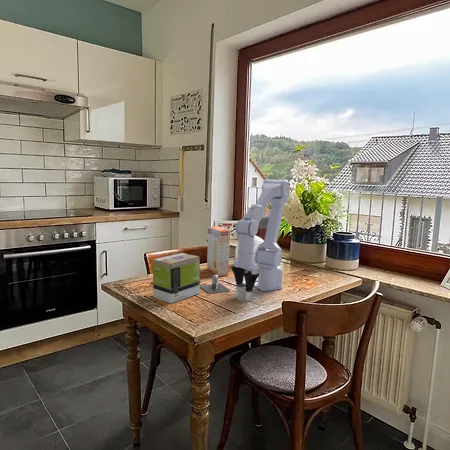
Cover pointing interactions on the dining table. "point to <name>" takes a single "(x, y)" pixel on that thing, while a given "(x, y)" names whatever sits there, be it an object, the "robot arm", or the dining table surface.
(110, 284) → the dining table surface
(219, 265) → the cracker box
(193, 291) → the tea box
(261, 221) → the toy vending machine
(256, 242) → the cauliflower
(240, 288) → the collar
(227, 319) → the dining table surface
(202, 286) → the duct stub
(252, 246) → the robot arm
